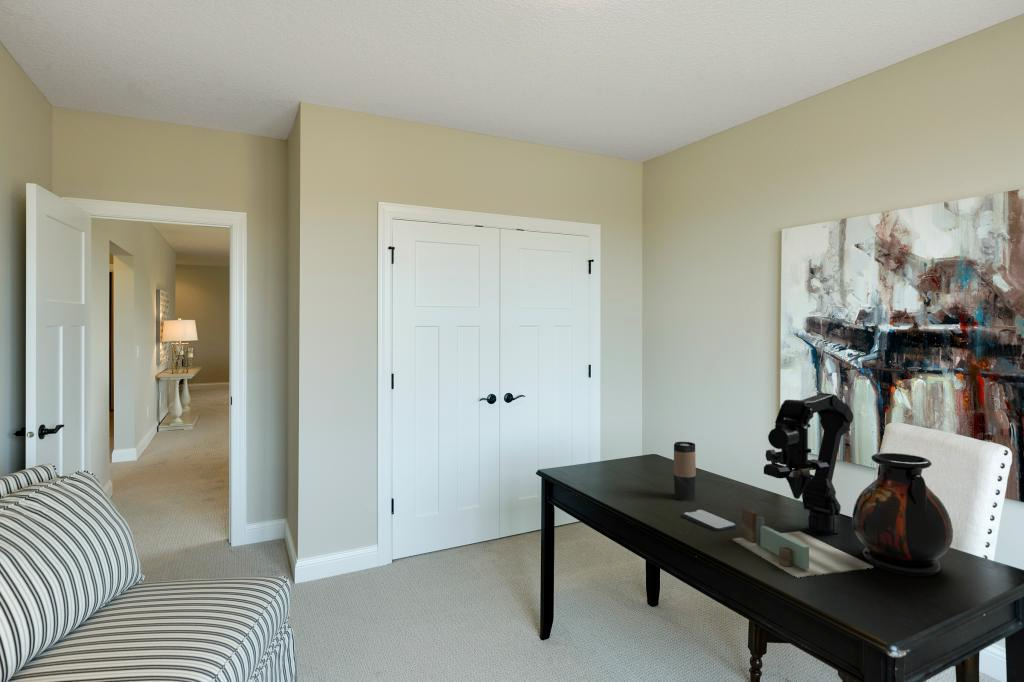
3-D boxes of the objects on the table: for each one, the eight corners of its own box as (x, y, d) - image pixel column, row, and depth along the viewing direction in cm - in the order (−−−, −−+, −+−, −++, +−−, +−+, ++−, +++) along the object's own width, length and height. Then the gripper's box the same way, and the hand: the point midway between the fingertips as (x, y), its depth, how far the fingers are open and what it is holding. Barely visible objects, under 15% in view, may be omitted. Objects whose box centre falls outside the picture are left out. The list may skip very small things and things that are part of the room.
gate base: (799, 532, 170) (799, 502, 169) (873, 567, 144) (873, 533, 144) (732, 539, 164) (732, 509, 164) (796, 578, 139) (796, 542, 139)
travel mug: (700, 499, 203) (700, 444, 202) (683, 502, 200) (682, 446, 200) (686, 494, 210) (686, 440, 210) (669, 496, 207) (669, 442, 207)
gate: (754, 543, 159) (754, 516, 159) (760, 542, 160) (760, 516, 159) (803, 569, 142) (803, 539, 141) (809, 568, 142) (809, 538, 142)
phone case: (738, 529, 175) (701, 513, 189) (738, 524, 174) (701, 508, 189) (717, 534, 171) (680, 517, 185) (717, 529, 171) (680, 512, 185)
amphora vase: (837, 547, 158) (837, 448, 158) (919, 549, 156) (920, 449, 155) (878, 581, 137) (878, 467, 136) (974, 584, 134) (975, 468, 134)
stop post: (786, 563, 148) (786, 546, 147) (794, 568, 145) (794, 550, 144) (776, 564, 147) (776, 547, 147) (784, 569, 144) (784, 552, 144)
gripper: (799, 436, 171) (799, 487, 171) (749, 441, 165) (749, 494, 166) (830, 443, 160) (830, 498, 161) (778, 448, 155) (778, 505, 155)
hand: (796, 498), depth 161 cm, fingers closed
